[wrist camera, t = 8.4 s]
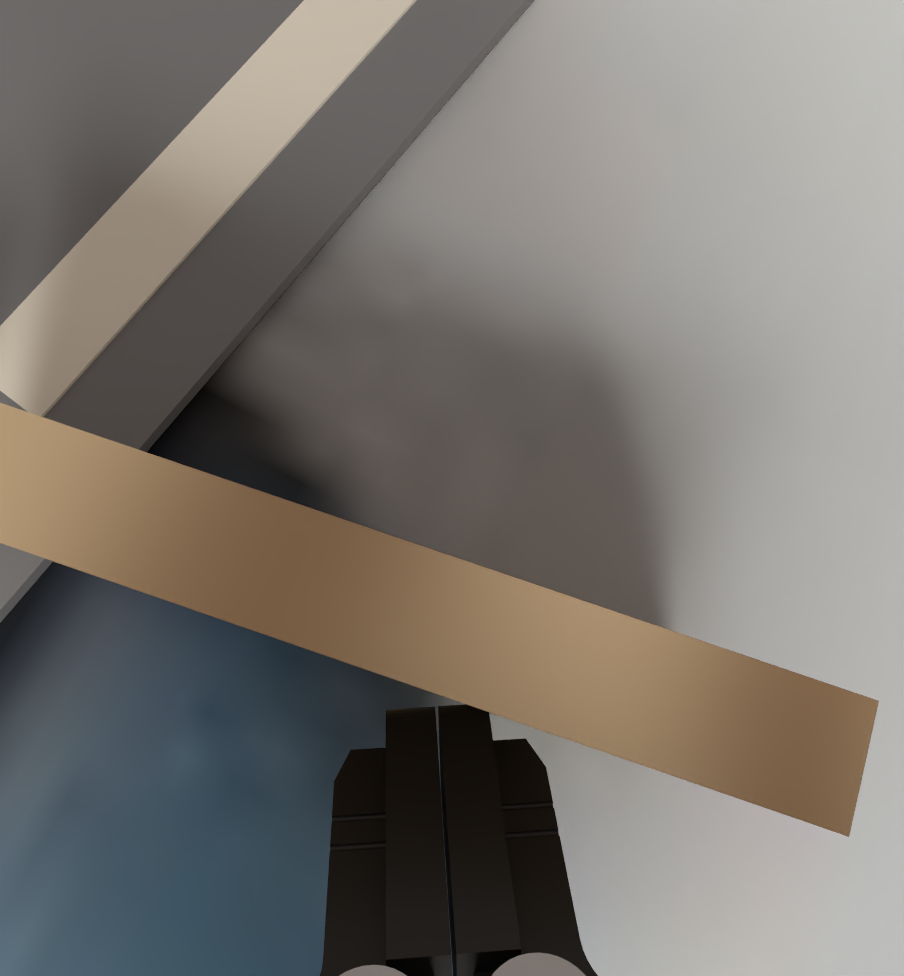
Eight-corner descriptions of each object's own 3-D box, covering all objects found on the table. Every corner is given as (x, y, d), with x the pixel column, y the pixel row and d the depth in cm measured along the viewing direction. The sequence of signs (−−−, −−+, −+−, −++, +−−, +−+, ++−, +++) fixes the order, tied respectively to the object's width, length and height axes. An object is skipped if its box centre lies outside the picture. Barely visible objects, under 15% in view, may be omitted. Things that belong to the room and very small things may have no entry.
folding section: (1, 532, 16) (-303, 437, 10) (33, 461, 17) (-238, 321, 10) (665, 762, 16) (849, 836, 9) (687, 685, 16) (878, 701, 9)
